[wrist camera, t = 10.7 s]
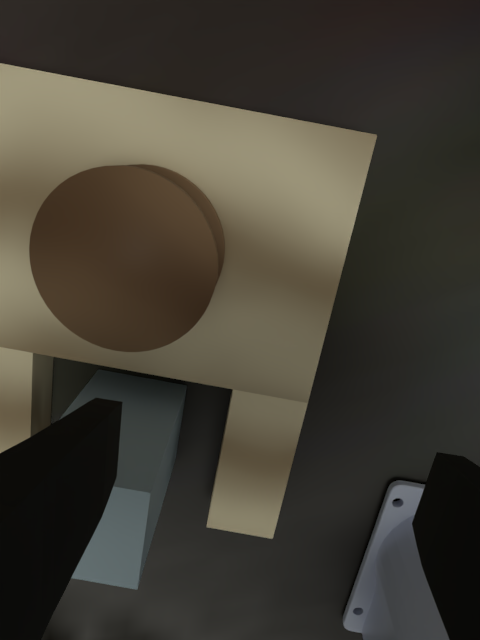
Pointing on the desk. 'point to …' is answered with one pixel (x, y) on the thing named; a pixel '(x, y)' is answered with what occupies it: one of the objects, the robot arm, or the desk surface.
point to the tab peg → (133, 474)
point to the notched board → (261, 277)
